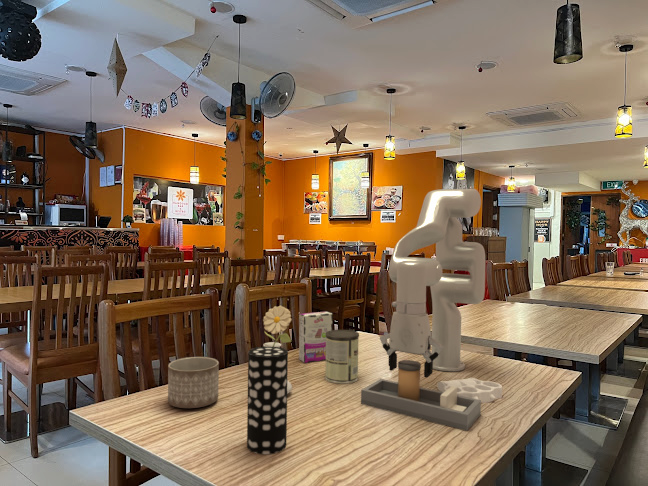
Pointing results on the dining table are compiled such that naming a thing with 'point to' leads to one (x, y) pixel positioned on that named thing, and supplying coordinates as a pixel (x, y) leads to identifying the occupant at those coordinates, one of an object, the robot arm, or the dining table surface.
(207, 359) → the planter
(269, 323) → the flower in vase
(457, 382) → the knuckle duster
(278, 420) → the white-spotted black cylinder
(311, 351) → the candy bar box
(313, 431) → the dining table surface
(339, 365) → the coffee can
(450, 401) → the plate
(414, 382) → the jar
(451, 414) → the grey rectangular tray
